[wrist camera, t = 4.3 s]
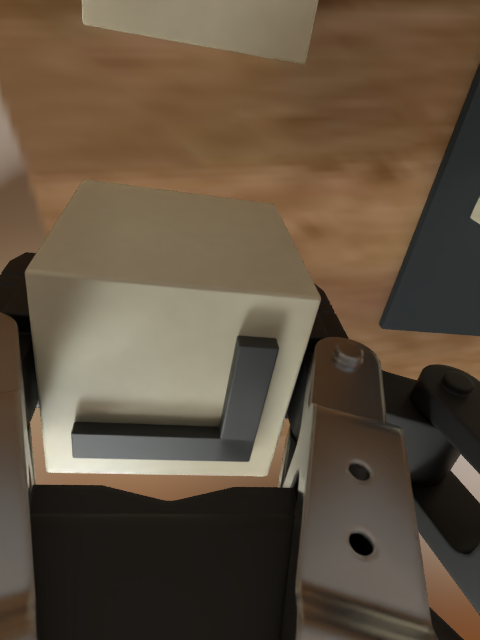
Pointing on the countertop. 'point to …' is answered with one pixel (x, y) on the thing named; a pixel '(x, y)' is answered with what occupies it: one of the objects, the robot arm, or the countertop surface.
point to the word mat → (445, 242)
